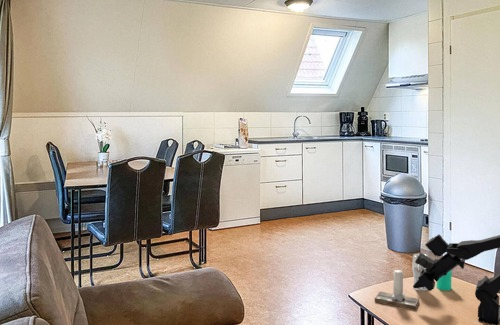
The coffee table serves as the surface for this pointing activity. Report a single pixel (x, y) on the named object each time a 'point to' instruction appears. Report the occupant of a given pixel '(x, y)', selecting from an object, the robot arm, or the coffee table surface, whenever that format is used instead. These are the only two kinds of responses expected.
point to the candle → (445, 282)
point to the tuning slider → (398, 286)
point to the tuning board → (405, 303)
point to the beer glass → (417, 272)
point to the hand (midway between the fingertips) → (413, 287)
